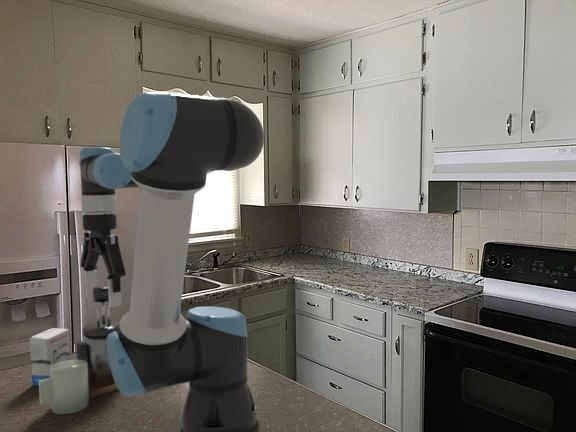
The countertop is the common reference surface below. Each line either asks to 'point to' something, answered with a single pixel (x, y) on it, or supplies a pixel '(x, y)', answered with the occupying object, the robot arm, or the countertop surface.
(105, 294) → the plunger
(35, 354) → the ink box
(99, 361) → the glass french press
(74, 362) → the sage mug
